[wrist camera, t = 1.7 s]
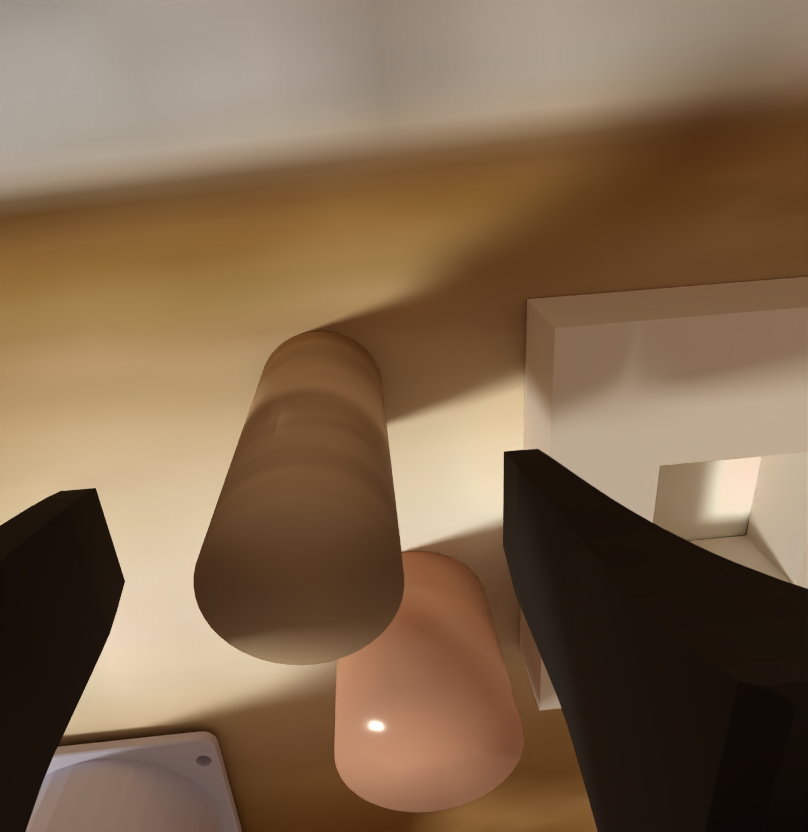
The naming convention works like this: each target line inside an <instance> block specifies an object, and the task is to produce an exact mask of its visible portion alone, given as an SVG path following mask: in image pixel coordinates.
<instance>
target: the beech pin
mask: <svg viewBox="0 0 808 832" xmlns="http://www.w3.org/2000/svg"><path fill="white" fill-rule="evenodd" d="M194 591H195V597H196V600H197V603H198V606H199V609H200V611H201V613H202V614H203V616H204V618H205V620H206V621H207V622H208V624H209V625H210V627H211V628H212V629H213V630H214V631H215V632H216V633H217V634H218V635H219V636H220V637H221V638H222V639H224V640H225V641H226V642H227V643H229V644H230V645H232V646H233V647H235V648H237V649H238V650H240V651H242V652H244V653H246V654H248V655H251V656H253V657H256V658H259V659H262V660H266V661H270V662H274V663H281V664H288V665H310V664H319V663H325V662H329V661H333V660H337V659H340V658H343V657H346V656H348V655H351V654H353V653H355V652H357V651H359V650H361V649H362V648H364V647H365V646H367V645H369V644H370V643H372V642H373V641H374V640H375V639H376V638H378V637H379V636H380V635H381V634H382V633H383V632H384V631H385V630H386V629H387V627H388V626H389V625H390V623H391V622H392V621H393V619H394V617H395V616H396V614H397V612H398V610H399V607H400V604H401V601H402V598H403V592H404V570H403V562H402V553H401V545H400V536H399V528H398V519H397V511H396V502H395V494H394V485H393V476H392V468H391V459H390V451H389V442H388V434H387V425H386V417H385V408H384V400H383V391H382V383H381V376H380V373H379V370H378V367H377V365H376V363H375V361H374V360H373V358H372V357H371V355H370V354H369V353H368V352H367V351H366V350H365V349H364V348H363V347H362V346H361V345H360V344H358V343H357V342H355V341H354V340H352V339H350V338H348V337H346V336H343V335H341V334H337V333H333V332H326V331H313V332H306V333H303V334H299V335H297V336H294V337H292V338H290V339H288V340H287V341H285V342H284V343H282V344H281V345H280V346H279V347H278V348H277V349H276V350H275V351H274V352H273V353H272V354H271V356H270V357H269V359H268V361H267V362H266V364H265V367H264V370H263V373H262V376H261V378H260V381H259V384H258V387H257V390H256V393H255V396H254V399H253V401H252V404H251V407H250V410H249V413H248V416H247V419H246V422H245V424H244V427H243V430H242V433H241V436H240V439H239V442H238V445H237V447H236V450H235V453H234V456H233V459H232V462H231V465H230V468H229V470H228V473H227V476H226V479H225V482H224V485H223V488H222V491H221V493H220V496H219V499H218V502H217V505H216V508H215V511H214V514H213V516H212V519H211V522H210V525H209V528H208V531H207V534H206V537H205V539H204V542H203V545H202V548H201V551H200V554H199V557H198V560H197V562H196V566H195V572H194Z"/></svg>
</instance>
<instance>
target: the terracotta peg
mask: <svg viewBox="0 0 808 832" xmlns="http://www.w3.org/2000/svg"><path fill="white" fill-rule="evenodd" d="M402 562H403V570H404V592H403V598H402V601H401V604H400V607H399V610H398V612H397V614H396V616H395V617H394V619H393V621H392V622H391V623H390V625H389V626H388V627H387V629H386V630H385V631H384V632H383V633H382V634H381V635H380V636H379V637H378V638H376V639H375V640H374V641H373V642H372V643H370V644H369V645H367V646H365V647H364V648H362V649H361V650H359V651H357V652H355V653H353V654H351V655H348V656H346V657H343V658H340V659H337V664H336V702H335V741H334V757H335V764H336V768H337V771H338V773H339V775H340V777H341V778H342V780H343V781H344V783H345V784H346V785H347V786H348V787H349V788H350V789H351V790H352V791H353V792H354V793H356V794H357V795H358V796H360V797H361V798H363V799H365V800H366V801H368V802H370V803H373V804H375V805H378V806H381V807H384V808H387V809H392V810H397V811H404V812H434V811H441V810H447V809H451V808H455V807H458V806H461V805H464V804H467V803H470V802H472V801H474V800H477V799H479V798H481V797H482V796H484V795H486V794H488V793H489V792H491V791H492V790H494V789H495V788H496V787H498V786H499V785H500V784H501V783H502V782H503V781H505V780H506V778H507V777H508V776H509V775H510V774H511V773H512V771H513V770H514V769H515V767H516V766H517V764H518V762H519V760H520V758H521V755H522V752H523V748H524V730H523V726H522V723H521V719H520V716H519V712H518V708H517V705H516V701H515V698H514V694H513V691H512V687H511V684H510V680H509V677H508V673H507V670H506V666H505V663H504V659H503V655H502V652H501V648H500V645H499V641H498V638H497V634H496V631H495V627H494V624H493V620H492V617H491V613H490V610H489V606H488V602H487V599H486V595H485V592H484V589H483V587H482V584H481V582H480V581H479V579H478V578H477V576H476V575H475V574H474V573H473V572H472V571H471V570H470V569H469V568H468V567H466V566H465V565H464V564H462V563H460V562H459V561H457V560H455V559H453V558H451V557H448V556H445V555H442V554H439V553H433V552H425V551H408V552H402Z"/></svg>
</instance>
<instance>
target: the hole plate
mask: <svg viewBox="0 0 808 832" xmlns="http://www.w3.org/2000/svg"><path fill="white" fill-rule="evenodd" d="M529 449H539V450H541V451H542V452H544V453H545V454H547V455H549V456H550V457H551V458H553V459H554V460H556V461H557V462H559V463H560V464H562V465H563V466H564V467H566V468H567V469H569V470H570V471H572V472H573V473H574V474H576V475H577V476H579V477H580V478H582V479H583V480H585V481H586V482H587V483H589V484H590V485H592V486H593V487H595V488H596V489H598V490H599V491H601V492H602V493H604V494H606V495H607V496H609V497H610V498H612V499H613V500H615V501H616V502H618V503H620V504H621V505H623V506H625V507H626V508H628V509H629V510H631V511H633V512H635V513H636V514H638V515H640V516H642V517H643V518H645V519H647V520H649V521H650V522H652V523H653V517H654V510H655V502H656V494H657V486H658V478H659V470H660V466H662V465H673V464H684V463H695V462H705V461H716V460H727V459H738V458H749V457H759V456H762V460H761V465H760V469H759V474H758V479H757V484H756V489H755V494H754V499H753V504H752V509H751V514H750V519H749V524H748V529H747V534H746V535H744V536H734V537H724V538H714V539H703V540H693V541H689V542H691V543H693V544H695V545H697V546H700V547H702V548H704V549H706V550H708V551H710V552H712V553H714V554H717V555H719V556H721V557H724V558H726V559H729V560H731V561H733V562H736V563H738V564H741V565H743V566H746V567H749V568H751V569H754V570H756V571H759V572H762V573H764V574H767V575H770V576H772V577H775V578H778V579H780V580H783V581H786V582H789V583H792V584H795V585H798V586H801V587H804V588H807V589H808V277H797V278H784V279H772V280H760V281H747V282H735V283H722V284H710V285H697V286H685V287H672V288H660V289H648V290H635V291H623V292H610V293H598V294H585V295H573V296H560V297H548V298H535V299H527V325H526V371H525V418H524V450H529ZM520 652H521V655H522V658H523V661H524V664H525V667H526V670H527V674H528V677H529V680H530V683H531V686H532V689H533V692H534V696H535V699H536V702H537V705H538V708H539V711H542V710H551V709H560V708H561V705H560V703H559V700H558V697H557V695H556V692H555V690H554V688H553V685H552V683H551V680H550V678H549V675H548V673H547V670H546V668H545V665H544V663H543V660H542V658H541V656H540V653H539V651H538V648H537V646H536V643H535V641H534V638H533V636H532V633H531V631H530V629H529V626H528V623H527V621H526V618H525V616H524V613H523V611H522V608H521V606H520Z"/></svg>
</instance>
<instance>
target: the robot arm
mask: <svg viewBox="0 0 808 832" xmlns="http://www.w3.org/2000/svg"><path fill="white" fill-rule="evenodd" d="M503 546H504V551H505V555H506V559H507V563H508V567H509V571H510V575H511V578H512V582H513V586H514V590H515V593H516V596H517V598H518V601H519V603H520V606H521V608H522V611H523V613H524V616H525V618H526V621H527V623H528V626H529V629H530V631H531V633H532V636H533V638H534V641H535V643H536V646H537V648H538V651H539V653H540V656H541V658H542V660H543V663H544V665H545V668H546V670H547V673H548V675H549V678H550V680H551V683H552V685H553V688H554V690H555V692H556V695H557V697H558V700H559V703H560V705H561V708H562V711H563V714H564V717H565V720H566V722H567V725H568V728H569V732H570V735H571V739H572V742H573V746H574V749H575V752H576V756H577V759H578V763H579V766H580V770H581V773H582V776H583V780H584V783H585V787H586V790H587V794H588V798H589V801H590V805H591V809H592V812H593V816H594V819H595V823H596V827H597V830H598V832H808V589H807V588H804V587H801V586H798V585H795V584H792V583H789V582H786V581H783V580H780V579H778V578H775V577H772V576H770V575H767V574H764V573H762V572H759V571H756V570H754V569H751V568H749V567H746V566H743V565H741V564H738V563H736V562H733V561H731V560H729V559H726V558H724V557H721V556H719V555H717V554H714V553H712V552H710V551H708V550H706V549H704V548H702V547H700V546H697V545H695V544H693V543H691V542H689V541H687V540H685V539H683V538H680V537H678V536H676V535H674V534H672V533H671V532H669V531H667V530H665V529H663V528H661V527H659V526H657V525H656V524H654V523H652V522H650V521H649V520H647V519H645V518H643V517H642V516H640V515H638V514H636V513H635V512H633V511H631V510H629V509H628V508H626V507H625V506H623V505H621V504H620V503H618V502H616V501H615V500H613V499H612V498H610V497H609V496H607V495H606V494H604V493H602V492H601V491H599V490H598V489H596V488H595V487H593V486H592V485H590V484H589V483H587V482H586V481H585V480H583V479H582V478H580V477H579V476H577V475H576V474H574V473H573V472H572V471H570V470H569V469H567V468H566V467H564V466H563V465H562V464H560V463H559V462H557V461H556V460H554V459H553V458H551V457H550V456H549V455H547V454H545V453H544V452H542V451H541V450H539V449H529V450H518V451H506V452H504V509H503ZM124 583H125V580H124V577H123V574H122V571H121V568H120V564H119V561H118V558H117V555H116V552H115V548H114V545H113V542H112V539H111V536H110V533H109V529H108V526H107V523H106V520H105V517H104V513H103V510H102V507H101V504H100V501H99V497H98V494H97V491H96V488H92V489H81V490H70V491H60V492H58V493H56V494H54V495H52V496H49V497H47V498H46V499H44V500H42V501H40V502H38V503H37V504H35V505H33V506H31V507H30V508H28V509H26V510H25V511H23V512H21V513H20V514H18V515H17V516H15V517H13V518H12V519H10V520H9V521H7V522H5V523H4V524H2V525H1V526H0V832H242V829H241V825H240V821H239V818H238V814H237V810H236V807H235V803H234V799H233V795H232V792H231V788H230V784H229V780H228V777H227V773H226V769H225V766H224V762H223V758H222V754H221V751H220V747H219V743H218V740H217V738H216V736H214V735H213V734H212V733H209V732H206V731H199V732H190V733H181V734H171V735H162V736H153V737H143V738H134V739H125V740H115V741H106V742H97V743H87V744H78V745H69V746H60V747H58V745H59V743H60V741H61V738H62V736H63V734H64V732H65V730H66V728H67V726H68V723H69V721H70V719H71V717H72V715H73V713H74V711H75V708H76V706H77V704H78V702H79V700H80V698H81V695H82V693H83V691H84V689H85V687H86V685H87V683H88V680H89V678H90V676H91V674H92V672H93V670H94V667H95V665H96V663H97V661H98V658H99V656H100V654H101V652H102V650H103V647H104V645H105V643H106V641H107V638H108V636H109V634H110V631H111V628H112V624H113V621H114V618H115V615H116V612H117V608H118V605H119V601H120V597H121V594H122V590H123V586H124Z"/></svg>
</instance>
